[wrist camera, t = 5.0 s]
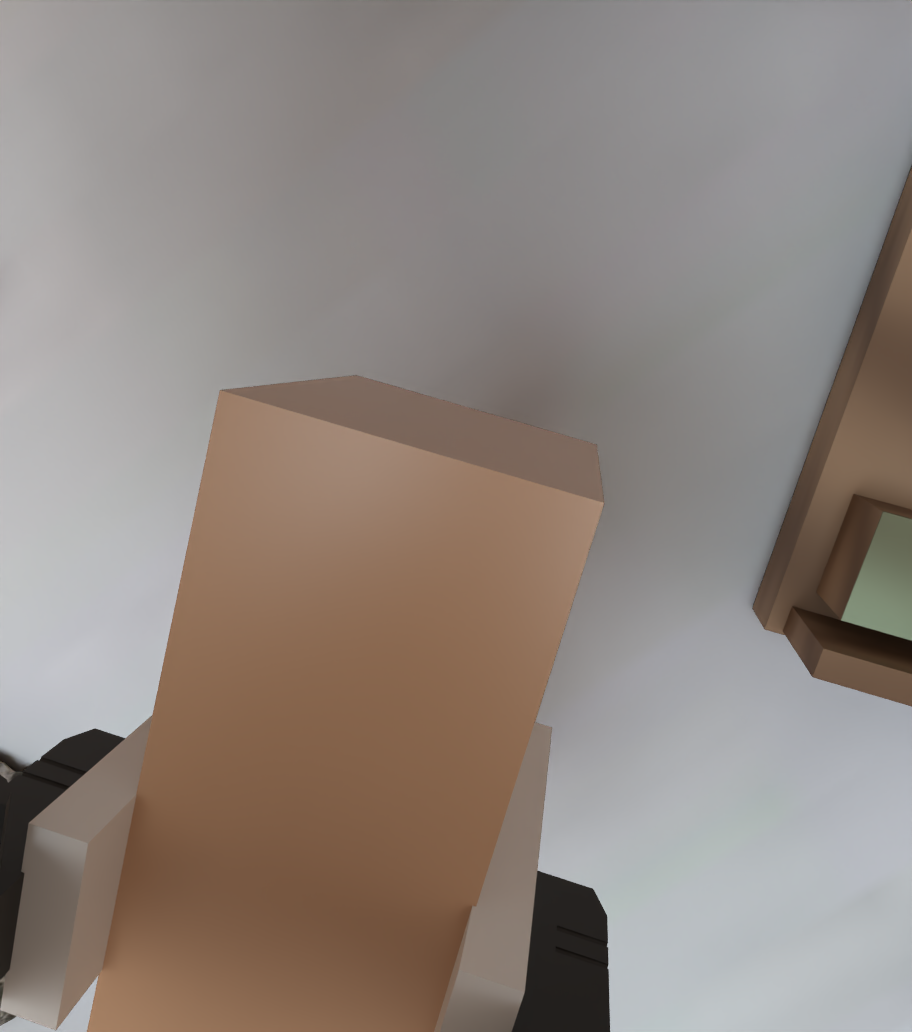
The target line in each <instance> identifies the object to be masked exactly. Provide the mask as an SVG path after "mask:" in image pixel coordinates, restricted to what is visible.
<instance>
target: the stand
mask: <svg viewBox="0 0 912 1032" xmlns="http://www.w3.org/2000/svg"><path fill="white" fill-rule="evenodd" d="M752 609H753V610H754V612H755V614H756V615H757V617H758V619H759V621H760V622H761V624H762V626H763V627H764V629H765V630H769V631H772V632H776V633H779V634H783V635H786V637H787V638H788V640H789V642H790V643H791V645H792V646H793V648H794V649H795V651H796V652H797V654H798V655H799V657H800V659H801V660H802V662H803V663H804V665H805V666H806V668H807V669H808V671H809V672H810V674H811V676H812V677H814V678H817V679H821V680H824V681H828V682H831V683H834V684H838V685H841V686H844V687H848V688H851V689H855V690H858V691H861V692H865V693H868V694H872V695H875V696H878V697H882V698H885V699H889V700H892V701H895V702H899V703H902V704H906V705H909V706H912V167H911V170H910V172H909V175H908V178H907V181H906V184H905V186H904V189H903V192H902V195H901V197H900V200H899V203H898V206H897V209H896V211H895V214H894V217H893V220H892V222H891V225H890V228H889V231H888V233H887V236H886V239H885V242H884V245H883V247H882V250H881V253H880V256H879V258H878V261H877V264H876V267H875V270H874V272H873V275H872V278H871V281H870V283H869V286H868V289H867V292H866V294H865V297H864V300H863V303H862V306H861V308H860V311H859V314H858V317H857V319H856V322H855V325H854V328H853V331H852V333H851V336H850V339H849V342H848V344H847V347H846V350H845V353H844V356H843V358H842V361H841V364H840V367H839V369H838V372H837V375H836V378H835V380H834V383H833V386H832V389H831V392H830V394H829V397H828V400H827V403H826V405H825V408H824V411H823V414H822V417H821V419H820V422H819V425H818V428H817V430H816V433H815V436H814V439H813V441H812V444H811V447H810V450H809V453H808V455H807V458H806V461H805V464H804V466H803V469H802V472H801V475H800V478H799V480H798V483H797V486H796V489H795V491H794V494H793V497H792V500H791V502H790V505H789V508H788V511H787V514H786V516H785V519H784V522H783V525H782V527H781V530H780V533H779V536H778V539H777V541H776V544H775V547H774V550H773V552H772V555H771V558H770V561H769V564H768V566H767V569H766V572H765V575H764V577H763V580H762V583H761V586H760V588H759V591H758V594H757V597H756V600H755V602H754V605H753V608H752Z"/></svg>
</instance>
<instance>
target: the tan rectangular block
mask: <svg viewBox="0 0 912 1032" xmlns="http://www.w3.org/2000/svg"><path fill="white" fill-rule="evenodd" d="M603 506H604V496H603V489H602V481H601V473H600V465H599V458H598V450H597V444H593V443H590V442H586V441H583V440H580V439H576V438H573V437H569V436H566V435H562V434H559V433H555V432H552V431H548V430H545V429H541V428H538V427H534V426H531V425H527V424H524V423H521V422H517V421H514V420H510V419H507V418H503V417H500V416H496V415H493V414H489V413H486V412H482V411H479V410H475V409H472V408H468V407H465V406H461V405H458V404H455V403H451V402H448V401H444V400H441V399H437V398H434V397H430V396H427V395H423V394H420V393H416V392H413V391H409V390H406V389H402V388H399V387H395V386H392V385H389V384H385V383H382V382H378V381H375V380H371V379H368V378H364V377H361V376H357V375H353V376H344V377H335V378H326V379H317V380H308V381H299V382H290V383H280V384H271V385H262V386H253V387H244V388H235V389H226V390H220V392H219V397H218V402H217V406H216V411H215V416H214V421H213V426H212V431H211V435H210V440H209V445H208V450H207V455H206V460H205V464H204V469H203V474H202V479H201V484H200V489H199V493H198V498H197V503H196V508H195V513H194V518H193V522H192V527H191V532H190V537H189V542H188V547H187V551H186V556H185V561H184V566H183V571H182V575H181V580H180V585H179V590H178V595H177V600H176V604H175V609H174V614H173V619H172V624H171V629H170V633H169V638H168V643H167V648H166V653H165V658H164V662H163V667H162V672H161V677H160V682H159V687H158V691H157V696H156V701H155V706H154V711H153V716H152V720H151V725H150V730H149V735H148V740H147V744H146V749H145V754H144V759H143V764H142V769H141V773H140V778H139V783H138V788H137V793H136V794H137V795H136V800H135V805H134V810H133V815H132V820H131V825H130V830H129V835H128V841H127V846H126V851H125V856H124V861H123V866H122V871H121V876H120V881H119V886H118V892H117V897H116V902H115V907H114V912H113V917H112V922H111V927H110V932H109V937H108V943H107V948H106V953H105V958H104V963H103V968H102V971H101V972H100V973H99V976H98V981H97V986H96V991H95V996H94V1000H93V1005H92V1010H91V1015H90V1020H89V1025H88V1029H87V1032H434V1030H435V1027H436V1024H437V1020H438V1017H439V1014H440V1011H441V1007H442V1004H443V1001H444V997H445V994H446V991H447V988H448V984H449V981H450V978H451V974H452V971H453V968H454V965H455V961H456V958H457V955H458V951H459V948H460V945H461V942H462V938H463V935H464V932H465V928H466V925H467V922H468V919H469V915H470V912H471V909H472V905H473V906H477V902H478V899H479V896H480V893H481V890H482V887H483V884H484V880H485V877H486V874H487V871H488V868H489V865H490V862H491V858H492V855H493V852H494V849H495V846H496V843H497V840H498V836H499V833H500V830H501V827H502V824H503V821H504V818H505V814H506V811H507V808H508V805H509V802H510V799H511V795H512V792H513V789H514V786H515V783H516V780H517V777H518V773H519V770H520V767H521V764H522V761H523V758H524V755H525V751H526V748H527V745H528V742H529V739H530V736H531V733H532V729H533V726H534V723H535V720H536V717H537V714H538V710H539V707H540V704H541V701H542V698H543V695H544V692H545V688H546V685H547V682H548V679H549V676H550V673H551V670H552V666H553V663H554V660H555V657H556V654H557V651H558V648H559V644H560V641H561V638H562V635H563V632H564V629H565V626H566V622H567V619H568V616H569V613H570V610H571V607H572V603H573V600H574V597H575V594H576V591H577V588H578V585H579V581H580V578H581V575H582V572H583V569H584V566H585V563H586V559H587V556H588V553H589V550H590V547H591V544H592V541H593V537H594V534H595V531H596V528H597V525H598V522H599V518H600V515H601V512H602V509H603Z"/></svg>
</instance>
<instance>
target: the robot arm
mask: <svg viewBox="0 0 912 1032" xmlns="http://www.w3.org/2000/svg"><path fill="white" fill-rule="evenodd" d="M152 716H153V715H152ZM152 716H151V717H150V718H148V719H147V720H146V721H145V722H144V723H143V724H142V725H140V726H139V727H138V728H137V729H136V730H135V731H134V732H132V733H131V734H130V735H129V736H128V737H127V738H126V739H125V738H122V737H119V736H116V735H113V734H110V733H107V732H104V731H101V730H98V729H92V730H89V731H87V732H84V733H81V734H78V735H75V736H72V737H70V738H67V739H64V740H62V741H61V742H60V743H59V744H57V745H56V746H55V747H53V748H52V749H51V750H50V751H48V752H47V753H46V754H44V755H43V756H42V757H41V759H40V761H38V760H37V761H35V762H34V763H33V764H31V765H30V766H29V767H28V768H26V769H25V770H24V771H23V773H22V775H17V776H16V777H15V778H13V779H12V780H11V781H9V782H8V781H7V779H5V778H4V777H3V776H1V775H0V980H1V979H2V978H3V977H4V975H5V974H6V975H5V982H4V988H3V995H2V1001H1V1008H0V1010H1V1011H4V1012H7V1013H10V1014H12V1015H15V1016H18V1017H21V1018H23V1019H26V1020H29V1021H32V1022H34V1023H37V1024H40V1025H43V1026H45V1027H48V1028H51V1029H54V1030H57V1028H58V1027H59V1026H60V1024H61V1023H62V1022H63V1020H64V1019H65V1018H66V1016H67V1015H68V1014H69V1013H70V1011H71V1010H72V1009H73V1007H74V1006H75V1005H76V1003H77V1002H78V1001H79V1000H80V998H81V997H82V996H83V994H84V993H85V992H86V990H87V989H88V988H89V986H90V985H91V984H92V983H93V981H94V980H95V979H96V977H97V976H98V975H99V973H100V972H101V971H102V968H103V963H104V958H105V953H106V948H107V943H108V937H109V932H110V927H111V922H112V917H113V912H114V907H115V902H116V897H117V892H118V886H119V881H120V876H121V871H122V866H123V861H124V856H125V851H126V846H127V841H128V835H129V830H130V825H131V820H132V815H133V810H134V805H135V800H136V795H137V794H136V793H137V788H138V783H139V778H140V773H141V769H142V764H143V759H144V754H145V749H146V744H147V740H148V735H149V730H150V725H151V720H152ZM551 733H552V727H549V726H545V725H542V724H539V723H536V722H535V723H534V726H533V729H532V733H531V736H530V739H529V742H528V745H527V748H526V751H525V755H524V758H523V761H522V764H521V767H520V770H519V773H518V777H517V780H516V783H515V786H514V789H513V792H512V795H511V799H510V802H509V805H508V808H507V811H506V814H505V818H504V821H503V824H502V827H501V830H500V833H499V836H498V840H497V843H496V846H495V849H494V852H493V855H492V858H491V862H490V865H489V868H488V871H487V874H486V877H485V880H484V884H483V887H482V890H481V893H480V896H479V899H478V902H477V906H473V905H472V909H471V912H470V915H469V919H468V922H467V925H466V928H465V932H464V935H463V938H462V942H461V945H460V948H459V951H458V955H457V958H456V961H455V965H454V968H453V971H452V974H451V978H450V981H449V984H448V988H447V991H446V994H445V997H444V1001H443V1004H442V1007H441V1011H440V1014H439V1017H438V1020H437V1024H436V1027H435V1030H434V1032H610V1013H609V972H608V969H607V967H608V947H607V943H608V931H607V915H606V913H605V911H604V909H603V907H602V905H601V903H600V901H599V899H598V897H597V895H596V894H595V892H594V890H593V889H592V888H589V887H586V886H582V885H579V884H576V883H573V882H570V881H567V880H564V879H561V878H558V877H555V876H552V875H549V874H546V873H543V872H540V871H537V868H538V859H539V849H540V839H541V830H542V820H543V810H544V800H545V791H546V781H547V771H548V762H549V752H550V742H551Z"/></svg>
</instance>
